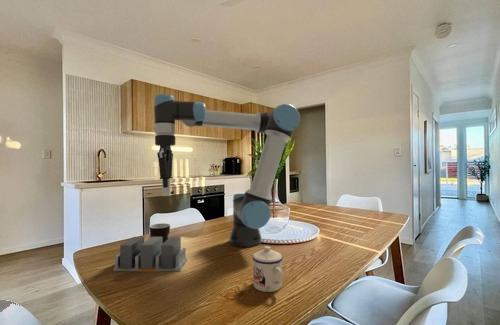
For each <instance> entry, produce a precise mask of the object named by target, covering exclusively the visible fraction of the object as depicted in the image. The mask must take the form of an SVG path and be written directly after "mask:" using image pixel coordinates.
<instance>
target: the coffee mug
mask: <svg viewBox="0 0 500 325" xmlns="http://www.w3.org/2000/svg"><path fill="white" fill-rule="evenodd" d="M170 230H171V223H165V222H164V223H154V224H150V225H149V235H150V238H151V237H163V243H164V242H165V241H166V240H167V239H169V238H170V232H171V231H170Z"/></svg>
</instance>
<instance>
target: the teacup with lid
mask: <svg viewBox="0 0 500 325" xmlns="http://www.w3.org/2000/svg"><path fill="white" fill-rule="evenodd" d="M263 248H264V249H261V250H259V251H255V252H254V253H253V255H252V263H253V264H252V265H253V266H252V267H253V268H252V270H253V271H252V272H253V274H252V276H253V278H252V280H253V281H252V284H253V287H254V288H255V289H256V290H258V291H260V292H265V293H272V292H276V291H277V292H278V291H279V290H280V289H281V288H282V284H283V281H284V274H283V271H282V270H283V268H282V267H283V264H282V262H283V256H282V254H281V253H280V252H278V251H275V250H273V249H272V248H271V246H268V245H267V246H266V245H265V246H264V247H263Z"/></svg>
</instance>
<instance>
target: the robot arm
mask: <svg viewBox="0 0 500 325" xmlns="http://www.w3.org/2000/svg"><path fill="white" fill-rule="evenodd" d="M153 106H154V107H153V110H154V112H153V113H154V126H153V130H154V134H155V136H154V143H155V146H158V147H159V150H158V151H157V153H156V154H157V158H158V167H159V180H161V182H162V183H161V186H162V191H161V192H162V197H170V196H171V195H172V194H171V193H172V191H171V190H172V189H171V179H174V178H173V160H174V159H173V158H174V153H173V150H172V147H171V146H175V145H176V136H175V135H176V121H182V123H183V124H184V125H185V126H186V127H189V128H191V127H210V128H219V129H220V128H221V129H222V128H223V129H236V130H248V131H254V132H255V133H259V134H265V135H266V138H265V142H264V144H263V148H262V151H261V154H260V158H259V160H258V163H257V166H256V169H255V173H254V175H253V179H252V182H251V185H250V187H249V188H248V189H247V190H245V192H244V193H235V194H233V199H232V202H233V204H232V207H233V208H232V214H233V215H232V219H233V222H232V223H233V225H232V229H231V232H230V235H229V244H231V245H233V246H235V247H236V246H237V247H245V248H246V247H256V246H258V245H260V244H261V243H262V236H261V232H260V229H261V228H263V227H264V226H266V225H267V224H268V223H269V221H270V219H271V210H270V207H271V203H272V198H271V195H270V194H271V191H272V188H273V184H274V180H275V178H276V174H277V171H278V168H279V166H280V162H281V159H282V156H283V153H284V149H285V146H286V143H287V142H288V141H291V139H292V136H293V132H294V131H295V130H296V129H297V128H298V127H299V125H300V122H301V114H300V112H299V111H298V109H297V107H295V106H294V105H292V104H290V103H283V104H282V103H281V104H279V105H277V106H276V107H275V108H274V109H271V110H270V111H267V112H265V111H264V112H256V113H254V114H253V113H244V112H236V111H235V112H234V111H232V112H231V111H222V110H212V109H211V110H210V109H207V108H206V103H205V102H202V101H196V100H195V101H185V100H184V101H182V100H180V101H179V100H178V101H177V100H176V99H175V96H174V95H171V94H167V93H161V94H156V95H155V96H154V105H153Z"/></svg>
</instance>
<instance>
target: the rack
mask: <svg viewBox="0 0 500 325" xmlns="http://www.w3.org/2000/svg"><path fill="white" fill-rule="evenodd" d="M181 240H182V238H181V236H169V239H167V240H166V241H165V242H164V243H163V244H162V245H161V252H160V253H159V254H158V255H157V256H156V265H155V266H154V267H153V268H141V244H143V243H144V242H145V236H133V237H131V238H129V239H128V240H127V241H125V242H123V243H121V244H120V245H119V253H118V254H117V255H115V256H114V267H113V272H139V273H140V272H143V273H144V272H146V273H147V272H148V273H149V272H152V273H153V272H154V273H155V272H181V271H182V269H183V268H184V266H185V265H186V263H187V261H188V259H187V257H186V249H187V248H186V247H182V246H181V245H182V242H181ZM181 247H182V248H181Z"/></svg>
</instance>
